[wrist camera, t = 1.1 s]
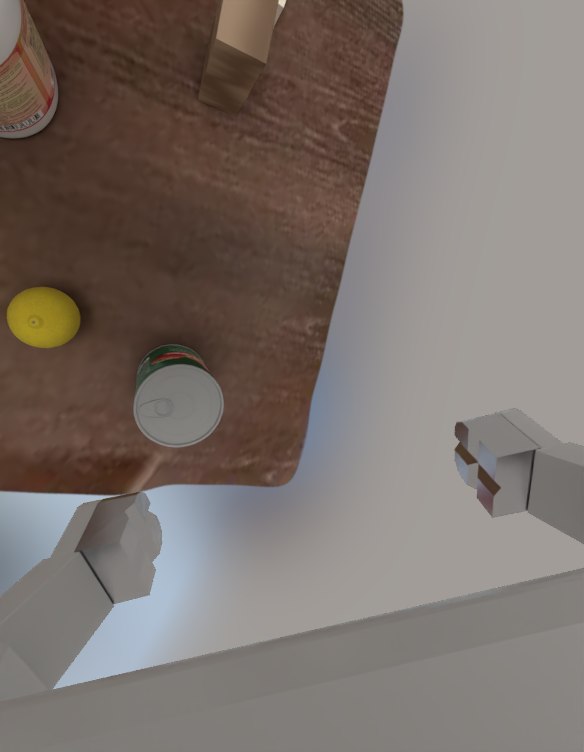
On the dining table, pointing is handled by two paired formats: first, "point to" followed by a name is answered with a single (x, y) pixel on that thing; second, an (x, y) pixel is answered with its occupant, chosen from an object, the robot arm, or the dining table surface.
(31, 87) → the fruit juice
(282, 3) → the stand
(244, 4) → the long tan wooden beam
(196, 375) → the canned tomato
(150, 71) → the dining table surface
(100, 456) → the dining table surface
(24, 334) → the lemon
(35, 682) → the robot arm
